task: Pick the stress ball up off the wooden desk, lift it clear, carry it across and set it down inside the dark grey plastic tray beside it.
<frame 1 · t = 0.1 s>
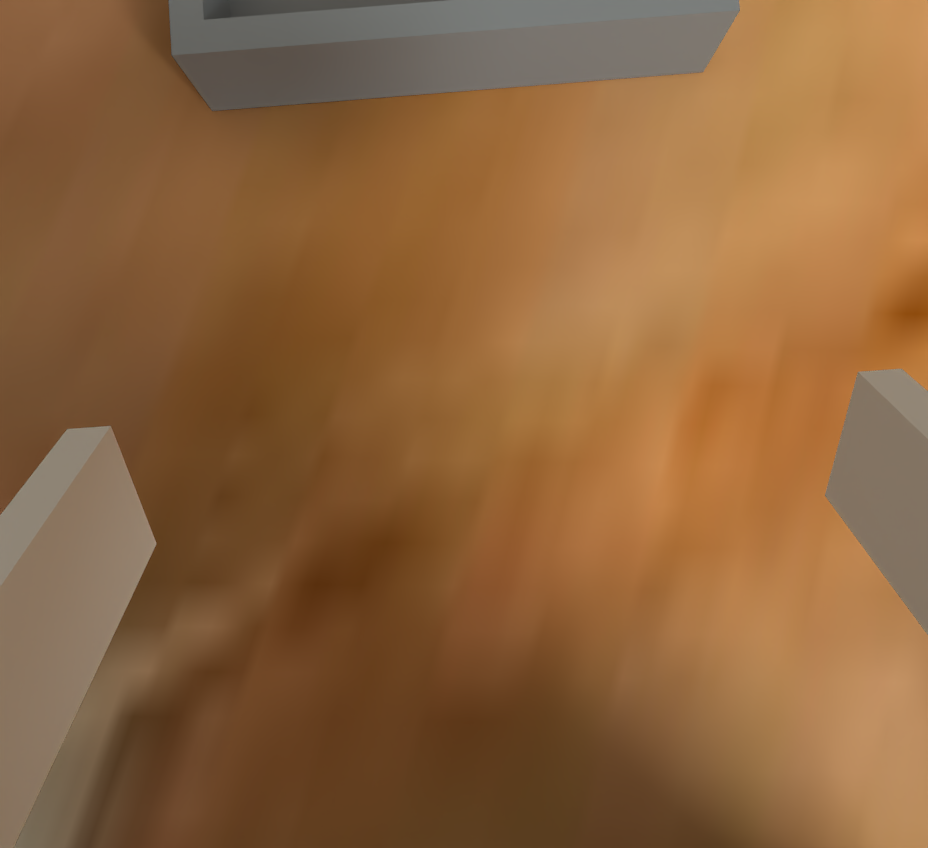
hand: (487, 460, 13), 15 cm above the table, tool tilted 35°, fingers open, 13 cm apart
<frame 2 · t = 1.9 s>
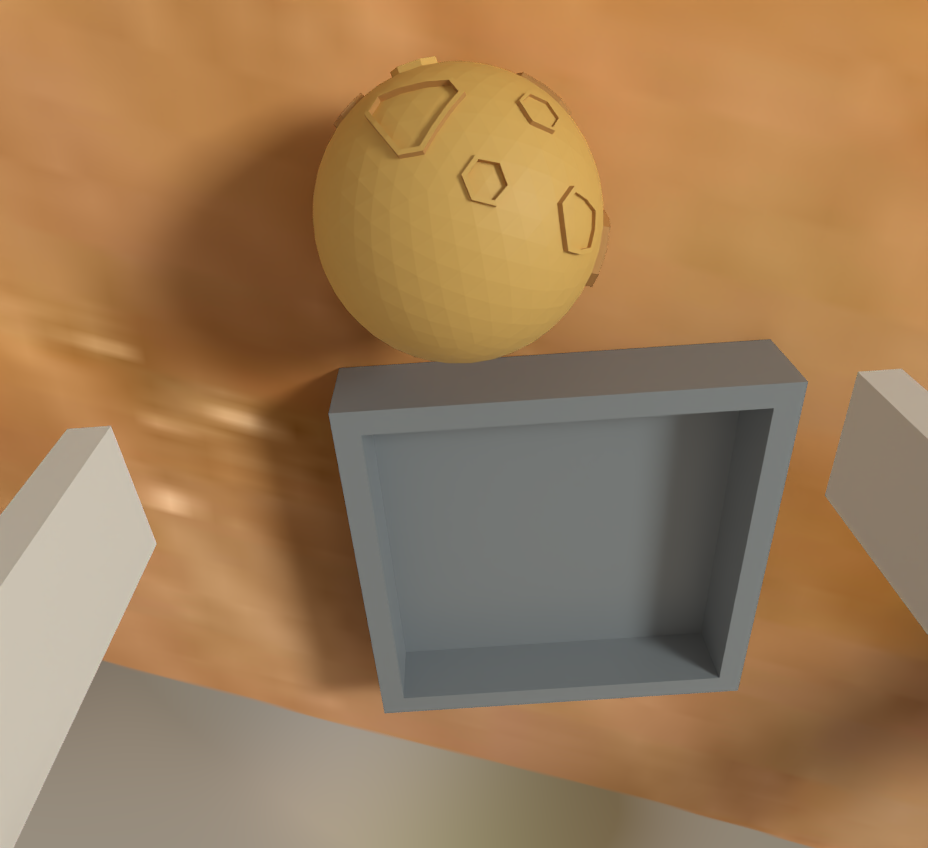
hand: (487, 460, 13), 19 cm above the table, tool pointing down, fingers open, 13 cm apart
tray: (552, 519, 39), on the table
stress ball: (457, 182, 29), on the table
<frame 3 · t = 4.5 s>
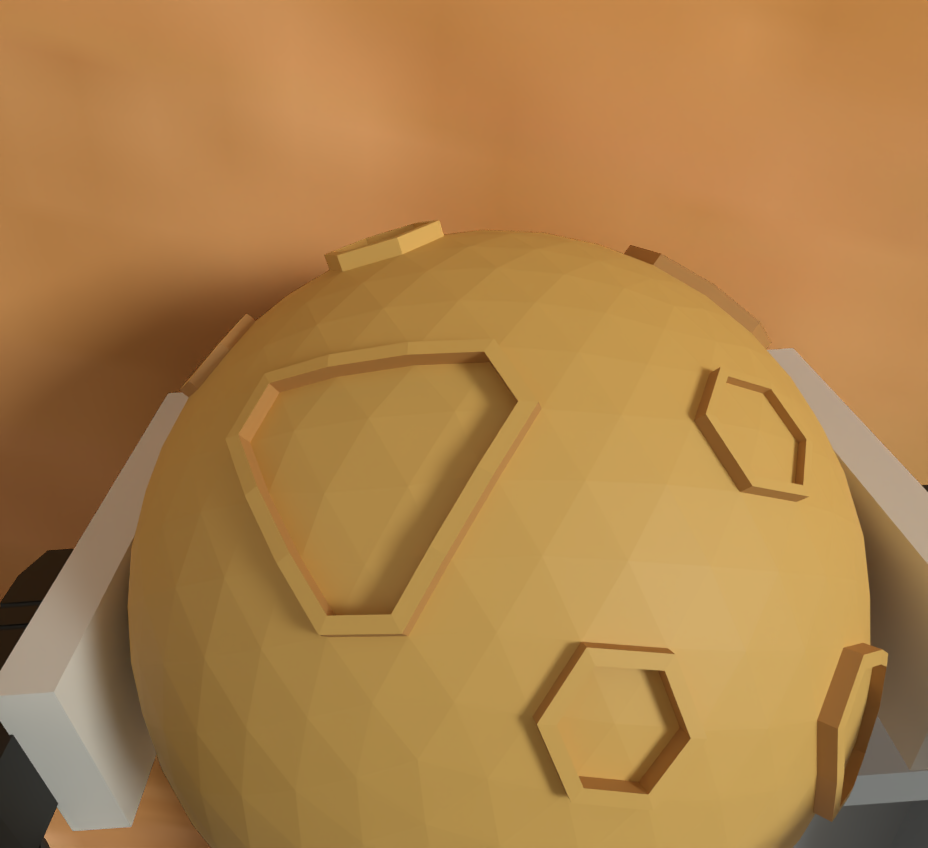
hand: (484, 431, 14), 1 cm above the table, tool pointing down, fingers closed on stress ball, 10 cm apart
tray: (622, 841, 25), on the table
stress ball: (478, 393, 15), on the table, touching gripper
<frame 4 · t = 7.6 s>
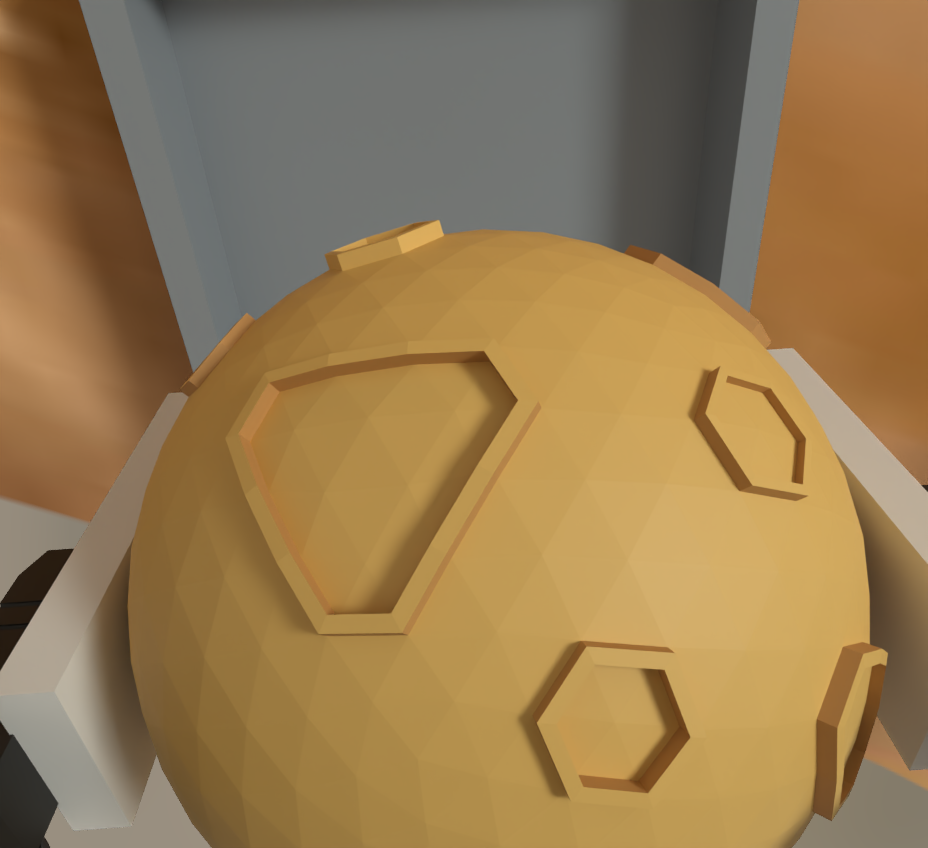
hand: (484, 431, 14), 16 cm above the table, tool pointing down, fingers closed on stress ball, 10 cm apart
tray: (458, 212, 27), on the table
stress ball: (478, 393, 15), point 14 cm above the table, touching gripper
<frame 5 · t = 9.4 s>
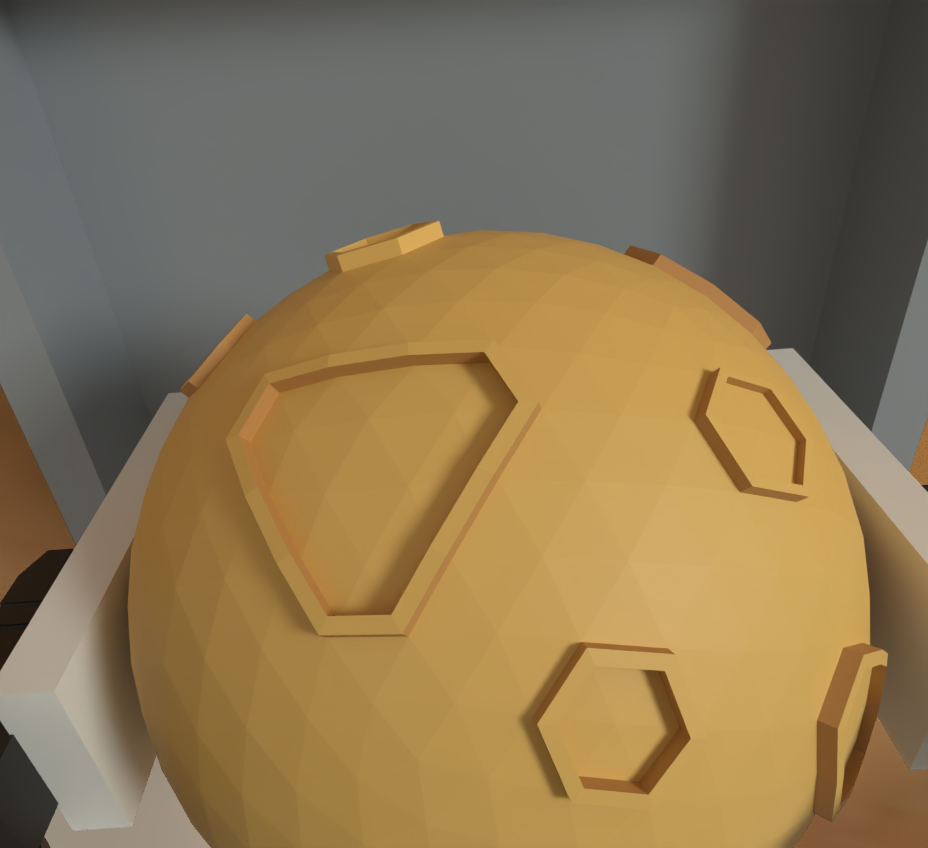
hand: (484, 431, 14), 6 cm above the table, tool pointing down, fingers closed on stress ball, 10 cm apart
tray: (473, 310, 19), on the table
stress ball: (478, 394, 15), point 4 cm above the table, touching gripper
when the fingers open (4 cm above the table, at t = 10.7 s): stress ball drops 2 cm, resting on tray.
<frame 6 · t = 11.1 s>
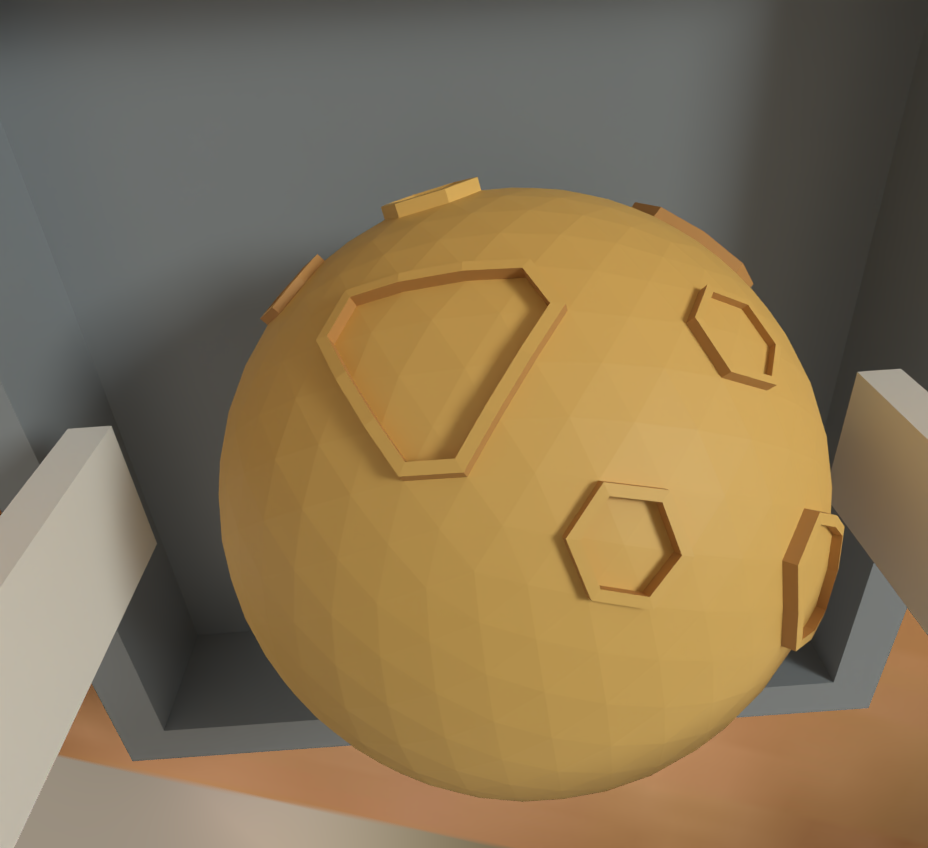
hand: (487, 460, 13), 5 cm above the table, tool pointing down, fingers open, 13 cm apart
tray: (473, 336, 18), on the table
stress ball: (498, 347, 17), point 1 cm above the table, touching tray
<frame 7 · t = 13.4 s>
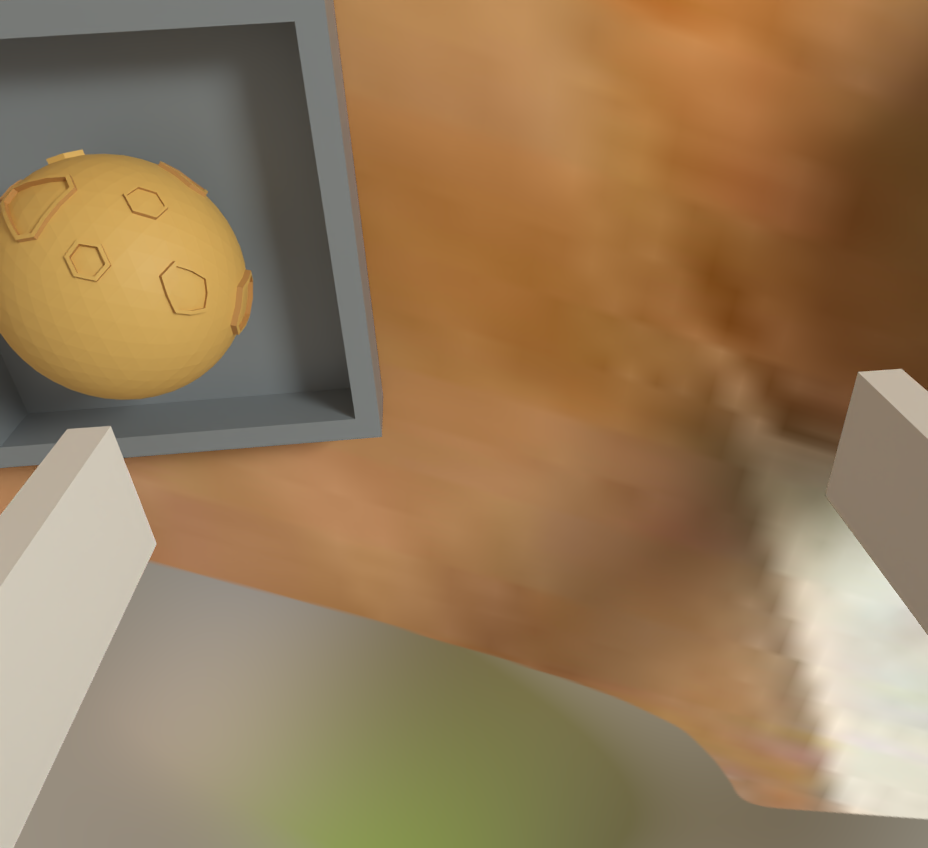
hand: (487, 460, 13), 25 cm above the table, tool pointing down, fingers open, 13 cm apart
tray: (152, 235, 35), on the table
stress ball: (161, 239, 34), point 1 cm above the table, touching tray
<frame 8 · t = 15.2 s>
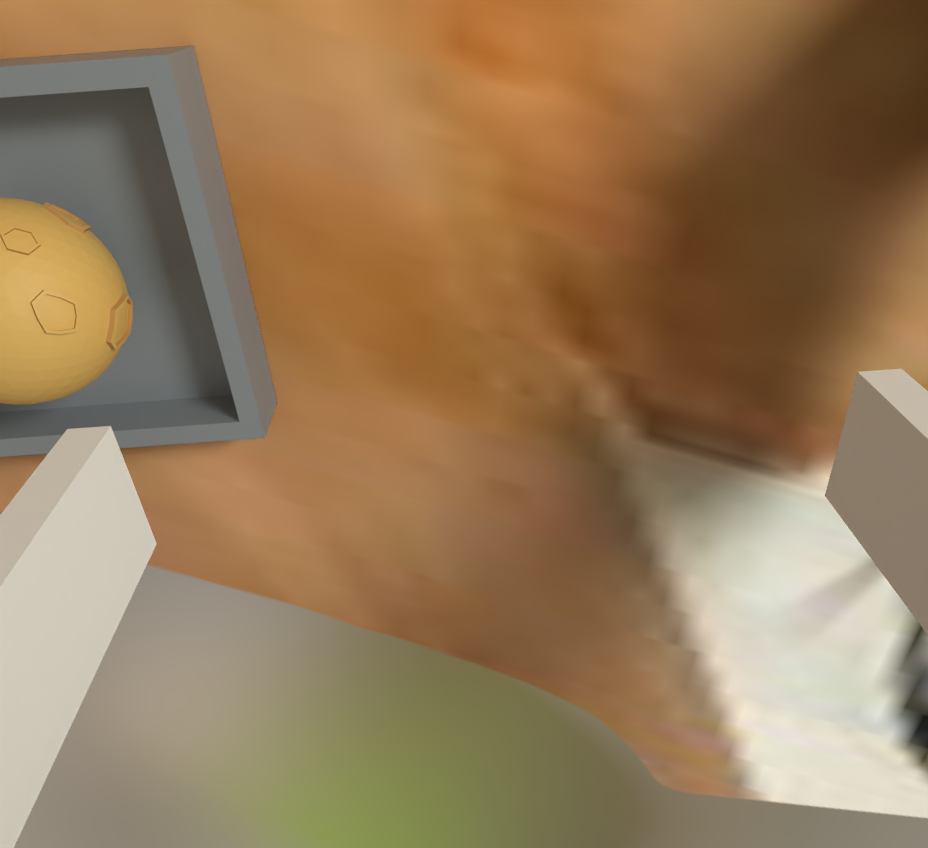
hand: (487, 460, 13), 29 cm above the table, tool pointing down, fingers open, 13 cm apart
tray: (60, 261, 40), on the table
stress ball: (66, 265, 40), point 1 cm above the table, touching tray
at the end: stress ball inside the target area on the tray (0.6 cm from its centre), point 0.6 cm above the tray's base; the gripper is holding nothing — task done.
